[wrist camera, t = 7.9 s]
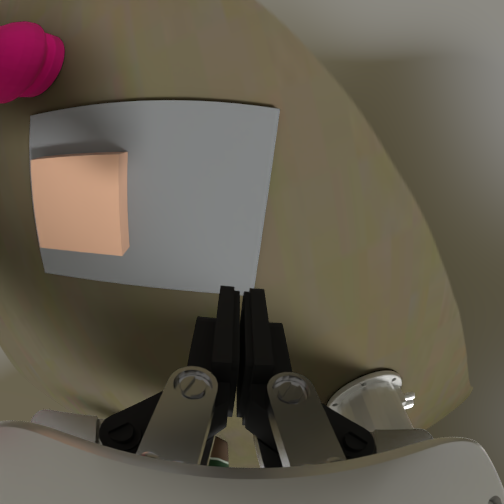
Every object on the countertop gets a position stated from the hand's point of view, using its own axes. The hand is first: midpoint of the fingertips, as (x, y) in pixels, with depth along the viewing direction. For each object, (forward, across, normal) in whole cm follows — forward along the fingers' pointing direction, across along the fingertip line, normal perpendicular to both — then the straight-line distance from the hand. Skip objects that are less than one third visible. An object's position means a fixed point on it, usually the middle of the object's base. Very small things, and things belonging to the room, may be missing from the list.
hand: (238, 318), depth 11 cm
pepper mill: (+12, +20, -14) cm, 27 cm away
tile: (+11, +9, -1) cm, 14 cm away
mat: (+12, +9, -1) cm, 15 cm away
